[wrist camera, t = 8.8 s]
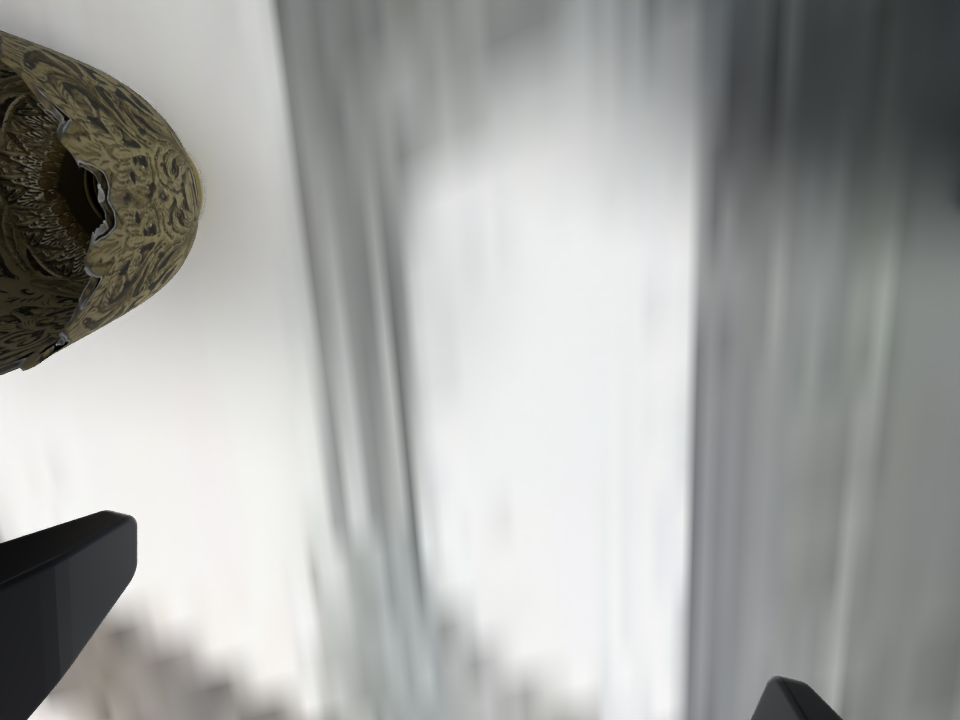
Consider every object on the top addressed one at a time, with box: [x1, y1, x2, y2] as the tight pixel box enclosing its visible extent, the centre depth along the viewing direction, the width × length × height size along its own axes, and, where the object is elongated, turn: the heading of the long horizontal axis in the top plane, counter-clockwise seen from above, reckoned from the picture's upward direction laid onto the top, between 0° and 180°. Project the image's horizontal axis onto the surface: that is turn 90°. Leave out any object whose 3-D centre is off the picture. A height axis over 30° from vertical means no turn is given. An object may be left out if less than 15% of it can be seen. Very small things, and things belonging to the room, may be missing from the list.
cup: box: [0, 31, 205, 375], centre depth 16 cm, size 8×7×8 cm
